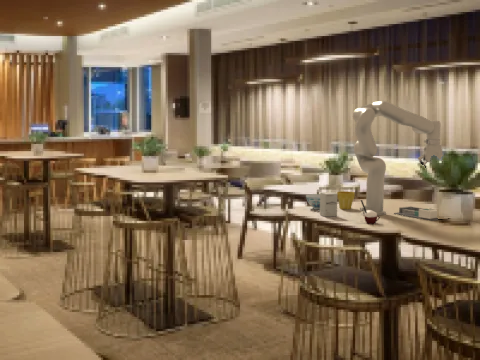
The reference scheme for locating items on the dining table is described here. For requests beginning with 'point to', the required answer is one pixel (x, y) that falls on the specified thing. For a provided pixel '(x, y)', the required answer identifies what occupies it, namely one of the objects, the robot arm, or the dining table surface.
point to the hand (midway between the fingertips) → (432, 172)
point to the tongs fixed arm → (408, 211)
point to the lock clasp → (428, 213)
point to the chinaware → (314, 200)
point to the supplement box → (328, 204)
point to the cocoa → (370, 215)
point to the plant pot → (345, 199)
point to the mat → (417, 217)
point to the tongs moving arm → (418, 209)
